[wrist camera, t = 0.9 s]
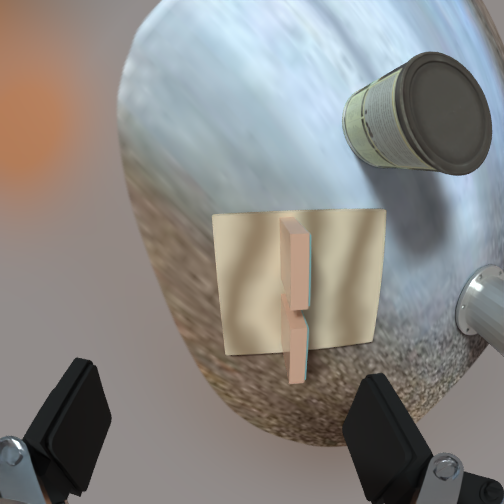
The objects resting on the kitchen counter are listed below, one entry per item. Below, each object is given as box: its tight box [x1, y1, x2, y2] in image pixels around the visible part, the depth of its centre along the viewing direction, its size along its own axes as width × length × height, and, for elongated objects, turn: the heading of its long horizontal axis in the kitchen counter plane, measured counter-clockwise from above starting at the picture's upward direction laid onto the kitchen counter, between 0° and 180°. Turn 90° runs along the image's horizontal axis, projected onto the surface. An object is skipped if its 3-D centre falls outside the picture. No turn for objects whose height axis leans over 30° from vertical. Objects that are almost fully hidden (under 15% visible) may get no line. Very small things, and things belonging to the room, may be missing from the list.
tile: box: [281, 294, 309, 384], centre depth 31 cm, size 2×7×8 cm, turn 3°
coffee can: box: [342, 52, 492, 176], centre depth 23 cm, size 10×10×14 cm
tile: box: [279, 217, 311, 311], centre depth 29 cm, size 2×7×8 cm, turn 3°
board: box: [212, 209, 386, 355], centre depth 35 cm, size 20×18×1 cm
